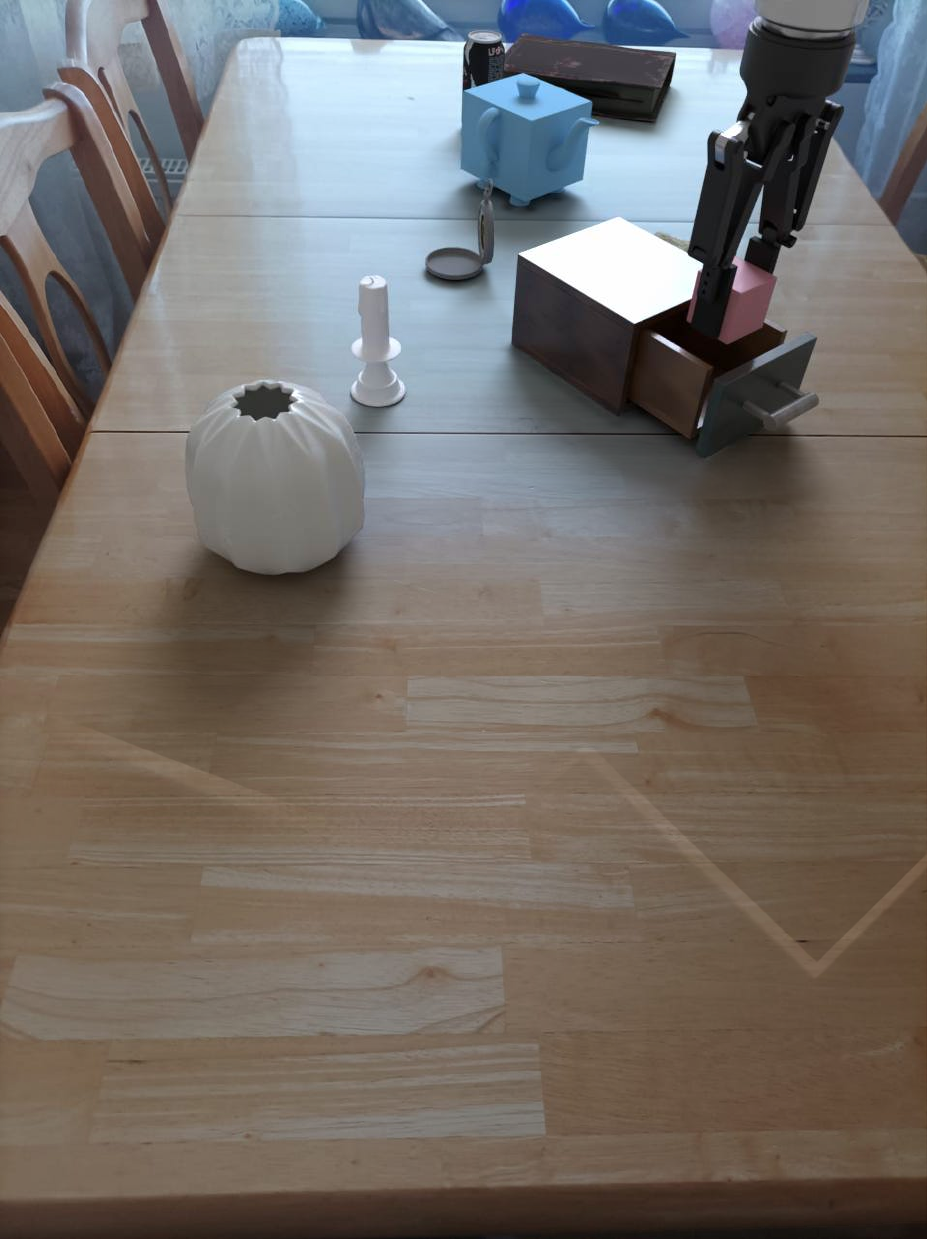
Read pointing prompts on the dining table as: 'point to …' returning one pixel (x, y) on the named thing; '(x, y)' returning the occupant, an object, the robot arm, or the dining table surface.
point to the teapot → (524, 136)
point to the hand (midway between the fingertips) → (725, 321)
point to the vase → (274, 478)
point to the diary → (597, 73)
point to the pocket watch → (465, 261)
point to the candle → (376, 348)
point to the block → (743, 301)
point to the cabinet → (598, 303)
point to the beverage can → (482, 59)
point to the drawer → (720, 380)
